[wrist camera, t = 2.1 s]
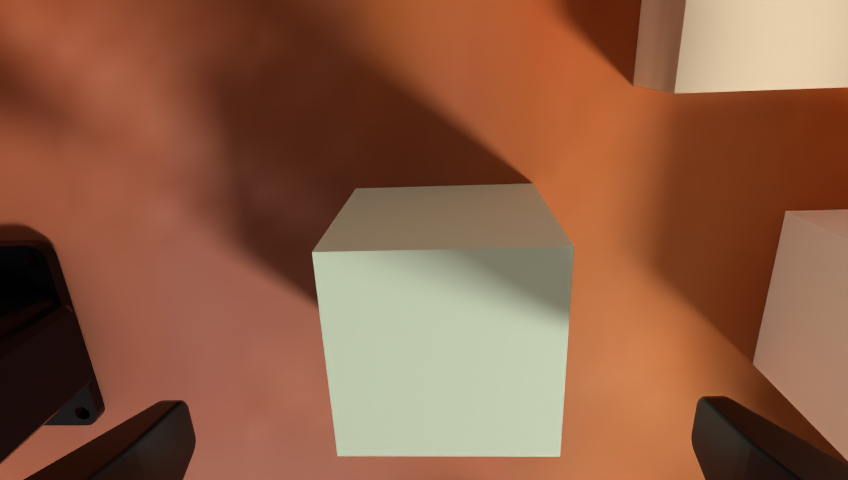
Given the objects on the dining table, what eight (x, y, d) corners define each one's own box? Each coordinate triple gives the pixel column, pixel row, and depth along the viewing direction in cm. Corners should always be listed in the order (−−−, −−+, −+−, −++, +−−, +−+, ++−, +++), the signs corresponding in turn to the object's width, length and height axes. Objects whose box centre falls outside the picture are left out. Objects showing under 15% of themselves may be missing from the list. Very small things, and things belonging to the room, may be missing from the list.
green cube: (369, 339, 16) (337, 456, 11) (356, 187, 14) (311, 251, 10) (527, 337, 16) (559, 456, 11) (532, 182, 14) (574, 246, 9)
